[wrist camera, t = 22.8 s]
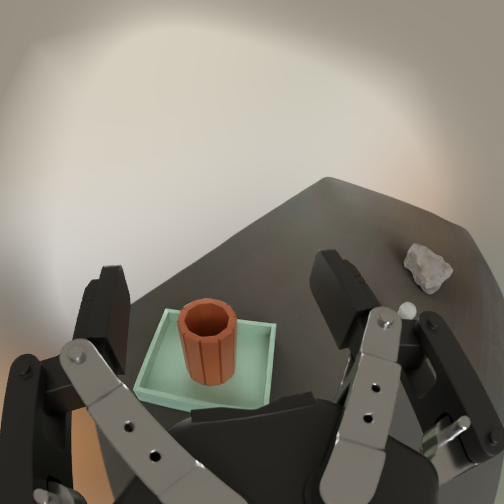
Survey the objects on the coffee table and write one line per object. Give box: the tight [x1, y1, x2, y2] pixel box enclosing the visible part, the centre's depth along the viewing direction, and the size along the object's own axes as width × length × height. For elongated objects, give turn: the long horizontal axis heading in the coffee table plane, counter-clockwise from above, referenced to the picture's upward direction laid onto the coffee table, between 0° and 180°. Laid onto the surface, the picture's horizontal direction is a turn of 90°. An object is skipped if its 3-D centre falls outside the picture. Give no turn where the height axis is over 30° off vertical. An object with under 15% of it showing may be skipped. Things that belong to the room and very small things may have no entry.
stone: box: [404, 243, 453, 294], centre depth 50 cm, size 10×8×6 cm
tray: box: [133, 309, 276, 412], centre depth 35 cm, size 15×13×3 cm
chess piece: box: [396, 302, 416, 320], centre depth 38 cm, size 5×5×8 cm
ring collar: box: [177, 298, 237, 386], centre depth 33 cm, size 6×6×9 cm
